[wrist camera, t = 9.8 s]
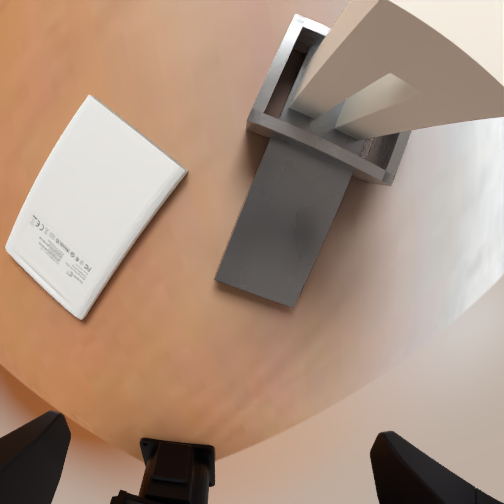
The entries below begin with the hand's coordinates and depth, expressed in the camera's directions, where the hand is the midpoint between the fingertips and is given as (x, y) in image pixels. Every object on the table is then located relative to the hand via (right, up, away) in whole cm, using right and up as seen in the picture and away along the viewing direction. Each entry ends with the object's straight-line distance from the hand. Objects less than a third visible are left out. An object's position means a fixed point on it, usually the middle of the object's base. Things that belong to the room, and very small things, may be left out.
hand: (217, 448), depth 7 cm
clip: (+5, +14, +9) cm, 17 cm away
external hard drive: (-10, +8, +12) cm, 17 cm away
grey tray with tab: (+4, +10, +11) cm, 16 cm away
